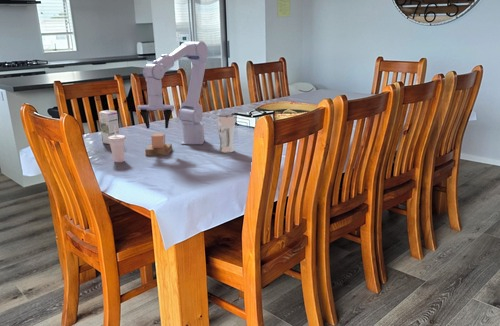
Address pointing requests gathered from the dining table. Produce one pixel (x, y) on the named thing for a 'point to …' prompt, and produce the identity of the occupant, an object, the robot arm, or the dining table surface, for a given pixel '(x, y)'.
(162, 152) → the walnut base
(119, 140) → the smoothie
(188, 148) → the dining table surface
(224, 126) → the beer glass
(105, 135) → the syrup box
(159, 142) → the terracotta block
